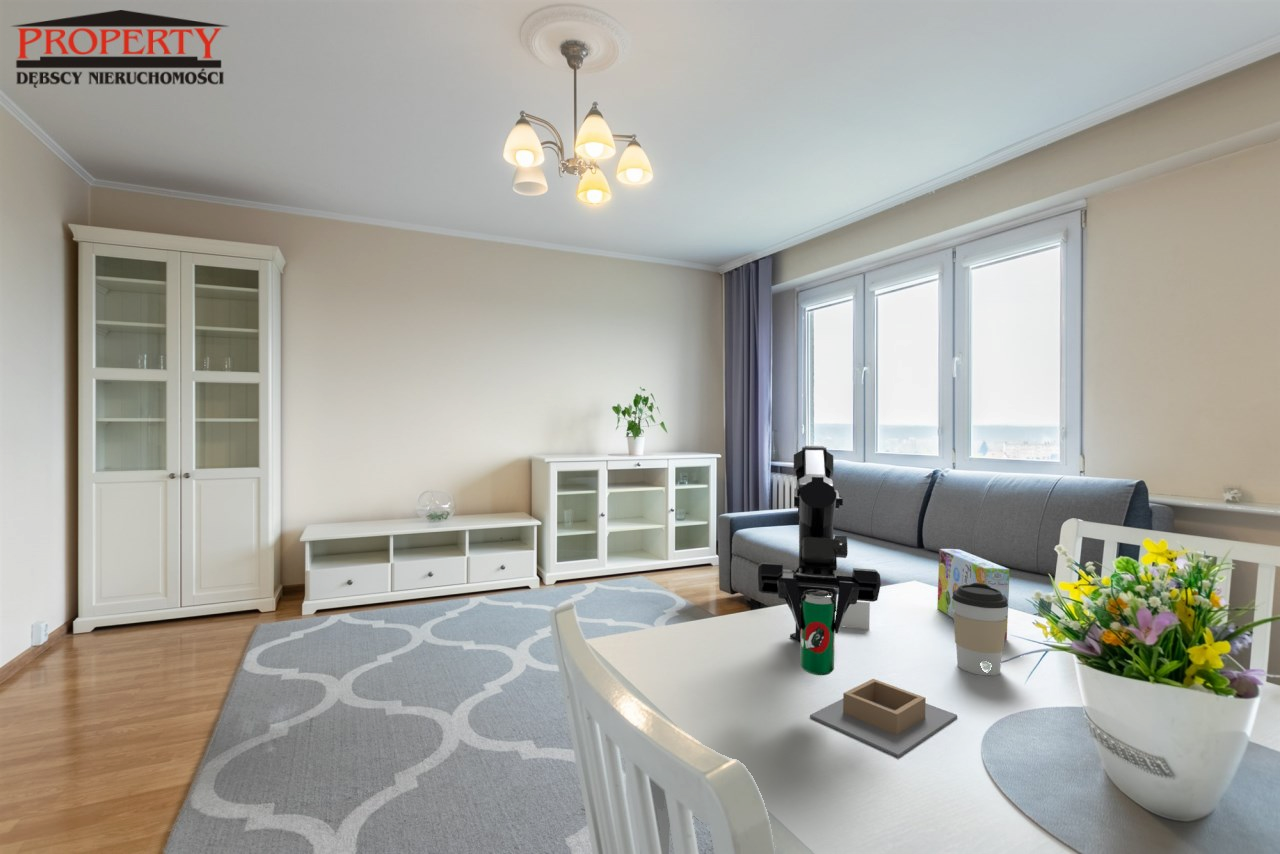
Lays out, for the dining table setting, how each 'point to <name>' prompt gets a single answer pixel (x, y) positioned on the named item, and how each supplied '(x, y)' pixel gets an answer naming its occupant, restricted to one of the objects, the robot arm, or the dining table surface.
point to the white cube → (857, 615)
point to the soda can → (817, 632)
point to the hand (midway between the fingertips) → (818, 630)
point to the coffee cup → (979, 627)
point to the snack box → (967, 577)
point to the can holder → (884, 717)
